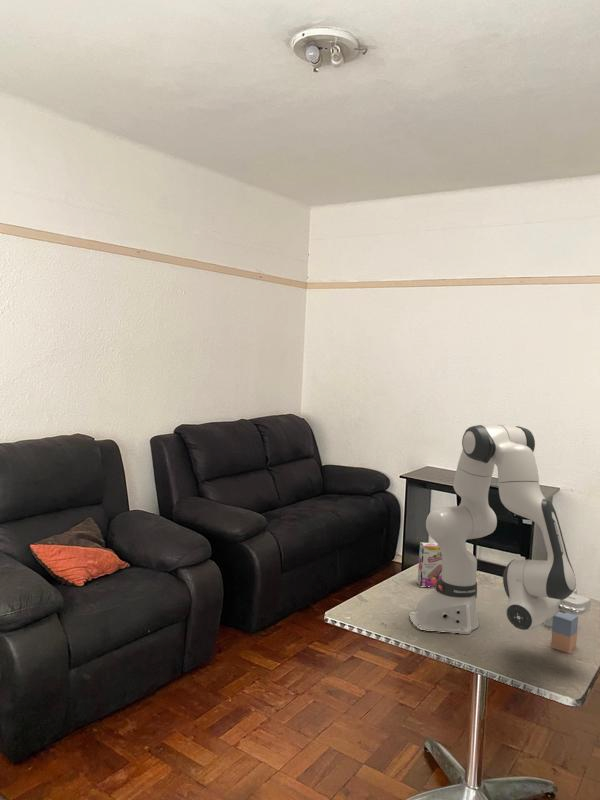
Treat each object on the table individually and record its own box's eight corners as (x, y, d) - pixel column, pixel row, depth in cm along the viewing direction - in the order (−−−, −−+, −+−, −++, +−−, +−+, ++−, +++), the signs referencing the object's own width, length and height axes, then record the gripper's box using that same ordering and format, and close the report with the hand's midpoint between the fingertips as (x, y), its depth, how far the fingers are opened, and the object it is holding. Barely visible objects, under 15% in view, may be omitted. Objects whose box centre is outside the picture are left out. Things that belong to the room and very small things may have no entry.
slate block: (570, 637, 191) (571, 621, 190) (551, 631, 194) (553, 615, 194) (577, 631, 195) (578, 615, 194) (558, 626, 198) (559, 610, 198)
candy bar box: (420, 588, 241) (422, 545, 240) (417, 583, 246) (419, 541, 245) (449, 588, 242) (451, 546, 240) (445, 583, 247) (447, 542, 245)
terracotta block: (569, 653, 191) (570, 637, 191) (551, 647, 195) (551, 631, 194) (576, 647, 195) (577, 631, 195) (558, 641, 199) (559, 626, 198)
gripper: (581, 602, 173) (599, 589, 183) (510, 581, 187) (530, 571, 197) (579, 624, 174) (597, 611, 184) (509, 602, 188) (529, 591, 198)
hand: (562, 590), depth 191 cm, fingers closed on walnut block, 4 cm apart
